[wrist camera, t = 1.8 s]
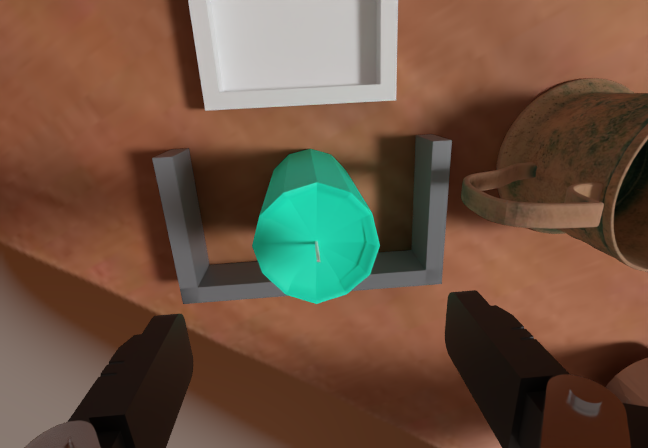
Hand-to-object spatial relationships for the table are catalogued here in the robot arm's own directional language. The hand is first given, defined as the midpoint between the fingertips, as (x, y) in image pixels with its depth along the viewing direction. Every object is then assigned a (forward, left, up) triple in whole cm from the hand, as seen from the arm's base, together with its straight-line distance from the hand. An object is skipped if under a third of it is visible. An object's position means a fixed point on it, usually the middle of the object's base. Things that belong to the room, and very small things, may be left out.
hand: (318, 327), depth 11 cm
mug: (-17, -1, -17) cm, 24 cm away
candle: (0, 0, -17) cm, 17 cm away
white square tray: (0, -12, -17) cm, 21 cm away
